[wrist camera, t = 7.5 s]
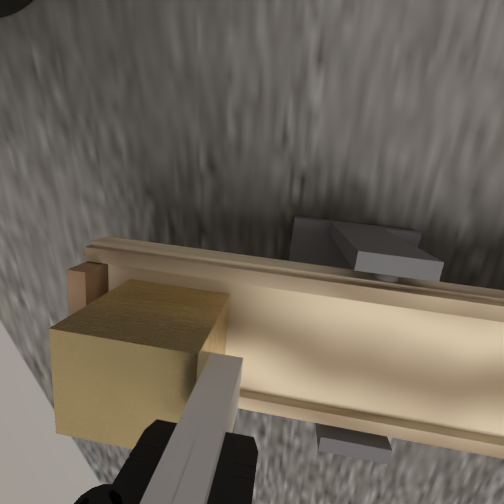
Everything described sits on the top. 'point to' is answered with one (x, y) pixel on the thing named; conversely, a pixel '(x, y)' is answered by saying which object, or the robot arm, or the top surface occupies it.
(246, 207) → the top surface
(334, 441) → the pivot stand
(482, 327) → the beam
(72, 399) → the rider
